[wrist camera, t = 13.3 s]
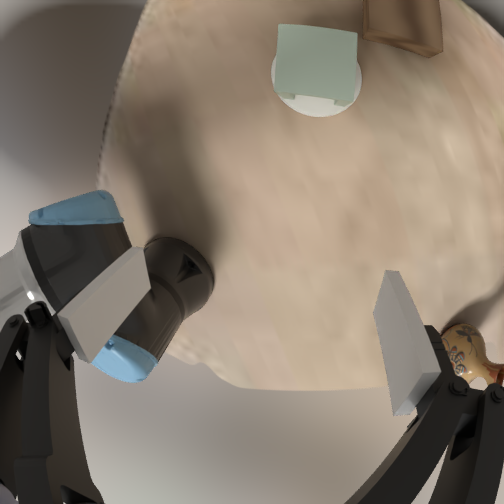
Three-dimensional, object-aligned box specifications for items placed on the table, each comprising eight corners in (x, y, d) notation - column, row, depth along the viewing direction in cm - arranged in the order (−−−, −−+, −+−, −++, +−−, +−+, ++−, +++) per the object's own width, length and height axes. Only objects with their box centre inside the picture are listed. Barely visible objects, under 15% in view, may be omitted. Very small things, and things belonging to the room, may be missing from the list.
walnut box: (362, 38, 25) (369, 27, 21) (362, -14, 21) (366, -29, 16) (429, 58, 24) (443, 51, 20) (426, 4, 19) (437, -6, 15)
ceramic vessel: (463, 296, 38) (514, 404, 17) (485, 311, 38) (531, 408, 17) (411, 354, 47) (430, 461, 25) (436, 364, 46) (457, 460, 25)
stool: (283, 98, 32) (273, 91, 24) (287, 45, 28) (278, 23, 20) (344, 106, 30) (353, 101, 23) (348, 52, 27) (357, 33, 19)
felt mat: (268, 111, 34) (267, 111, 33) (274, 34, 28) (273, 32, 27) (357, 124, 32) (357, 124, 31) (362, 44, 26) (363, 43, 25)
